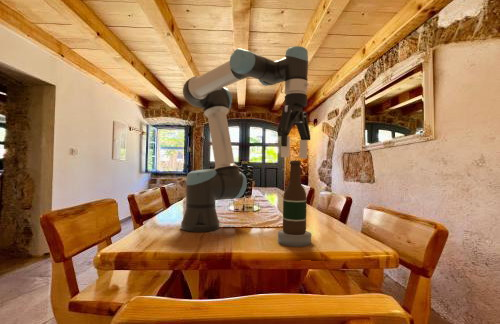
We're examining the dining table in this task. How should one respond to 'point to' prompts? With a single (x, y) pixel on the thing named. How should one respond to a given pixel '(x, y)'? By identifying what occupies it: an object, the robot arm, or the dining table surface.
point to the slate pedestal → (294, 239)
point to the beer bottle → (294, 203)
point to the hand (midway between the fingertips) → (294, 157)
